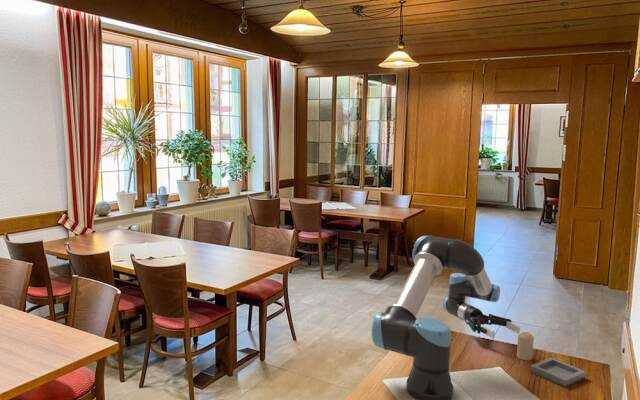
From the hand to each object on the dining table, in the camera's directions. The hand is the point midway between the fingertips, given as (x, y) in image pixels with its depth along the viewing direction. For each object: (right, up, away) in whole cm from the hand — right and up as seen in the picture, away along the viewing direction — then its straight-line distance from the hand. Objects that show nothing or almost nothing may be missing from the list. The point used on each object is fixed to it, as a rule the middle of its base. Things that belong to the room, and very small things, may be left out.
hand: (506, 332), depth 195 cm
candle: (+4, -8, -8) cm, 12 cm away
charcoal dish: (+10, -9, -22) cm, 26 cm away
